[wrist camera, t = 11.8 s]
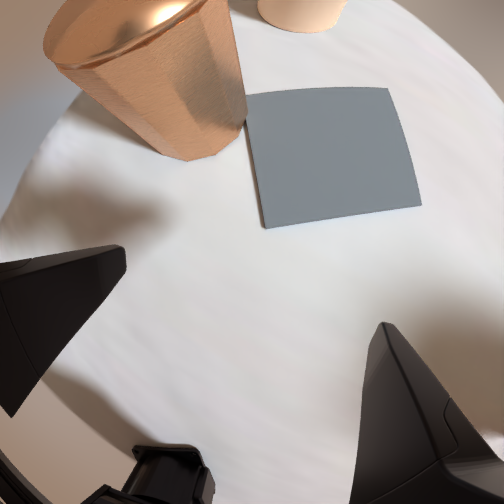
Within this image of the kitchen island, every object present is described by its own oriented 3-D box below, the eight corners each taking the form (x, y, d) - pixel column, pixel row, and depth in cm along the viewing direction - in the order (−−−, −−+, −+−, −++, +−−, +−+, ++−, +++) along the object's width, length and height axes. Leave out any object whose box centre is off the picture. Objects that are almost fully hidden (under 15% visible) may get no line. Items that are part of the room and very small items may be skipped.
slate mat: (265, 229, 19) (265, 228, 18) (241, 98, 19) (241, 96, 18) (419, 205, 18) (421, 205, 18) (386, 89, 18) (387, 88, 18)
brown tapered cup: (151, 171, 19) (26, 97, 6) (145, 88, 19) (63, -9, 6) (255, 146, 18) (232, 10, 6) (237, 63, 18) (209, -66, 6)
